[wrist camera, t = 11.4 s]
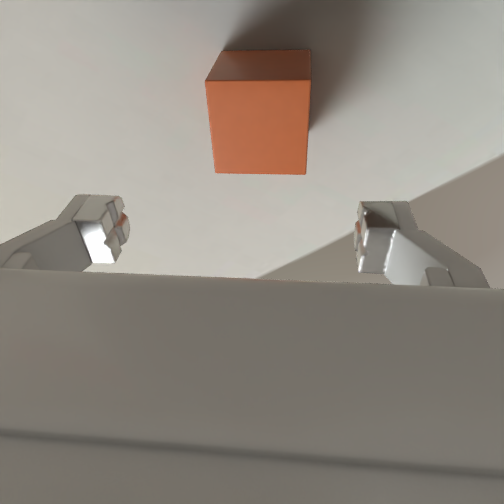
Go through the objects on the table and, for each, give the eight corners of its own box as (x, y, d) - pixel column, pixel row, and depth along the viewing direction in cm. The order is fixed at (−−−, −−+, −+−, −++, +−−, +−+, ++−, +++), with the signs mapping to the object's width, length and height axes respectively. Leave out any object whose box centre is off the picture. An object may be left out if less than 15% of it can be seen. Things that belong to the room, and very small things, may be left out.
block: (221, 50, 20) (204, 80, 17) (310, 49, 20) (311, 79, 17) (228, 133, 23) (215, 173, 20) (306, 134, 23) (306, 175, 20)
